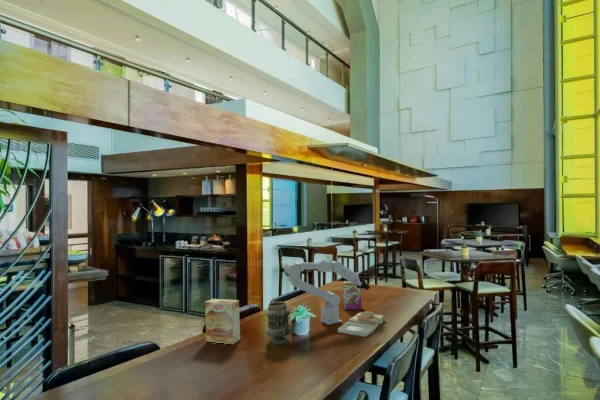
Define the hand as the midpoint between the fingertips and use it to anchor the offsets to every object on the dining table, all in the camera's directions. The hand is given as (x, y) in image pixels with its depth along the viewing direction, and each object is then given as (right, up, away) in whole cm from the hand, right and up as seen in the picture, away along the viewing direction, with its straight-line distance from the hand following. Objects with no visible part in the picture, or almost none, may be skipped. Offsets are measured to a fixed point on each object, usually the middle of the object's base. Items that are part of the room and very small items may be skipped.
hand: (366, 285), depth 210 cm
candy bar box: (-6, -18, +16) cm, 25 cm away
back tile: (-1, -14, -12) cm, 18 cm away
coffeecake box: (-75, -19, -33) cm, 84 cm away
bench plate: (-2, -17, -13) cm, 22 cm away
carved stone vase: (-48, -18, -37) cm, 63 cm away
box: (-9, -17, -25) cm, 32 cm away
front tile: (-4, -14, -17) cm, 22 cm away
